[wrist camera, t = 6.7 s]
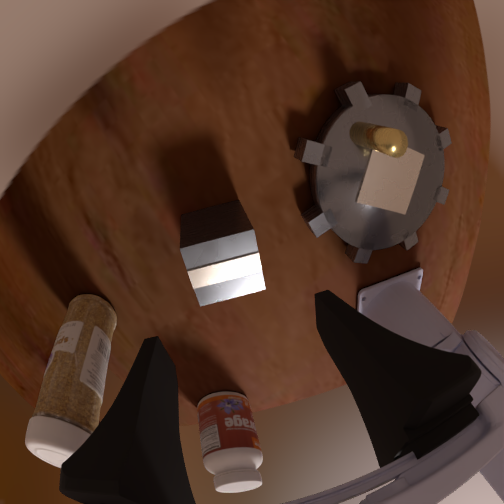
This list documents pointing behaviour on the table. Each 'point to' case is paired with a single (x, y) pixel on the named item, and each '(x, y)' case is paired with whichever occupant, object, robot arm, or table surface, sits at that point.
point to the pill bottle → (229, 441)
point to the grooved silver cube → (220, 253)
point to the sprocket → (375, 169)
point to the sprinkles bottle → (73, 381)
